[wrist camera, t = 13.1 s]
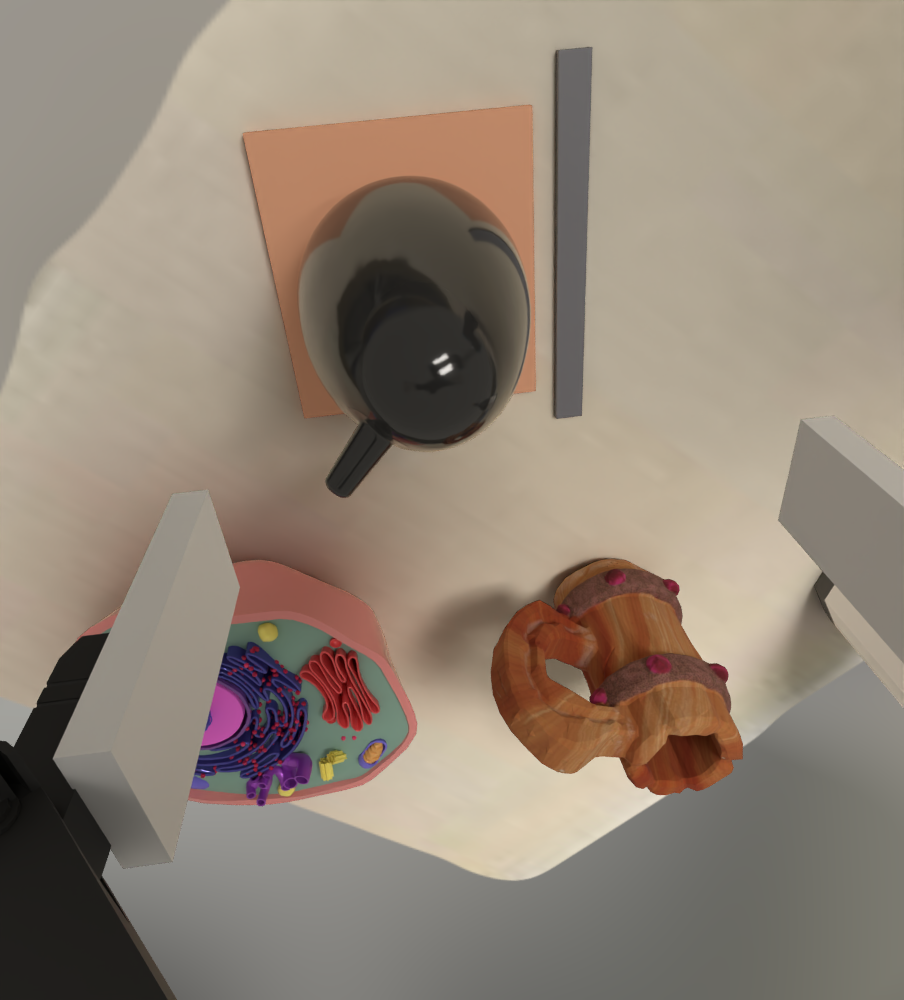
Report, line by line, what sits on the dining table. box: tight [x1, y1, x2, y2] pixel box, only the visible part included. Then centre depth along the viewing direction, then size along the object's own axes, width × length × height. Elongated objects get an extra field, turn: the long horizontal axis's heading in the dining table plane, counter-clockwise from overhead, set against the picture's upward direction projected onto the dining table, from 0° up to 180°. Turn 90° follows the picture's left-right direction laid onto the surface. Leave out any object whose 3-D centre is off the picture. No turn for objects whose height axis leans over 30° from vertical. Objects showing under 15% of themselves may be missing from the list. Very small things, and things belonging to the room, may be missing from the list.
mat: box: [243, 105, 536, 418], centre depth 35 cm, size 13×14×1 cm
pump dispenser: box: [297, 176, 531, 498], centre depth 28 cm, size 10×10×15 cm
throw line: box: [555, 47, 592, 419], centre depth 35 cm, size 2×18×1 cm, turn 4°
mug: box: [491, 559, 743, 795], centre depth 41 cm, size 15×8×15 cm, turn 70°
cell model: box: [77, 560, 417, 806], centre depth 42 cm, size 17×20×11 cm
